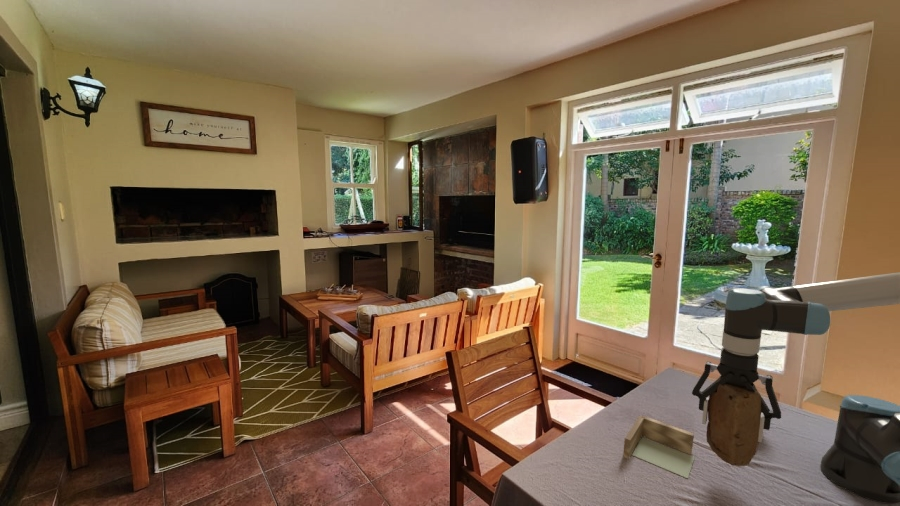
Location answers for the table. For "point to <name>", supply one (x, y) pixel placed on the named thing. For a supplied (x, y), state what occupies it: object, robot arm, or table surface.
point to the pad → (664, 457)
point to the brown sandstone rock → (734, 423)
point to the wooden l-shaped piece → (657, 435)
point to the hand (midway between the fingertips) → (731, 430)
